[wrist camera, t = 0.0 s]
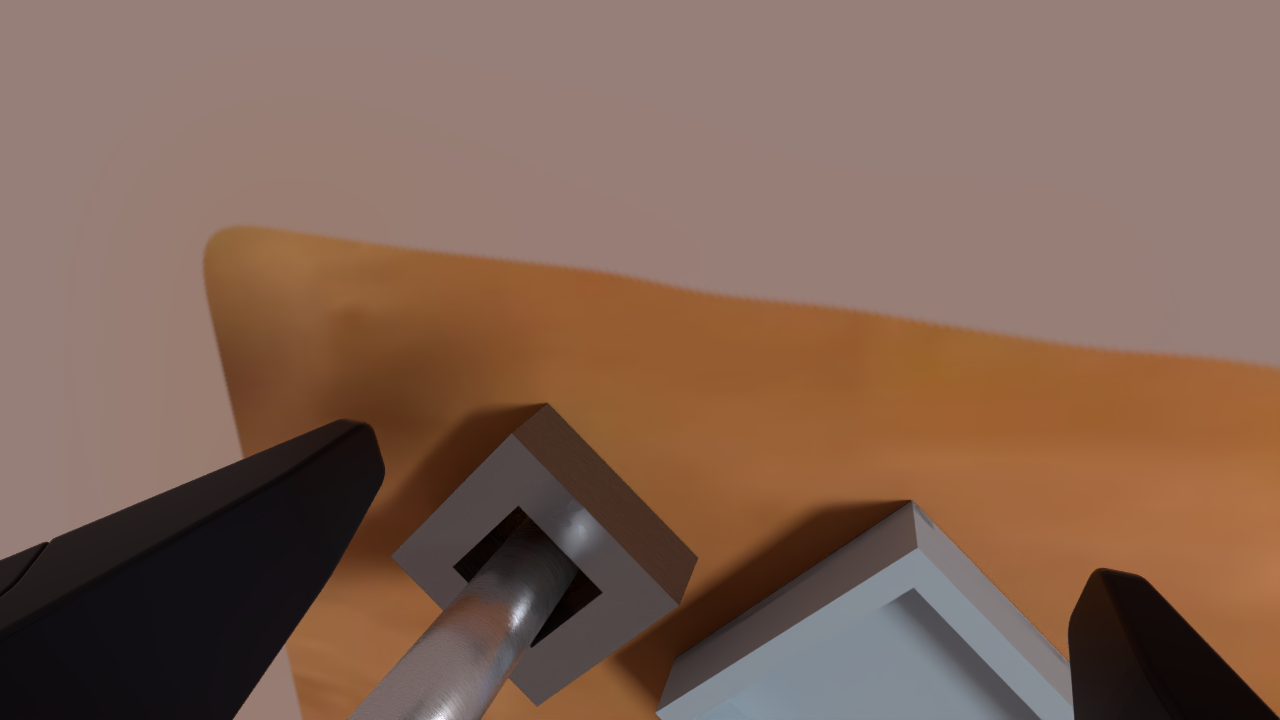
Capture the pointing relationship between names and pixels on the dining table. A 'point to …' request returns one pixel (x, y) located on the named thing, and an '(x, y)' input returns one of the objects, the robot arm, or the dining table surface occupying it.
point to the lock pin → (477, 635)
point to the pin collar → (579, 525)
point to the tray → (876, 643)
